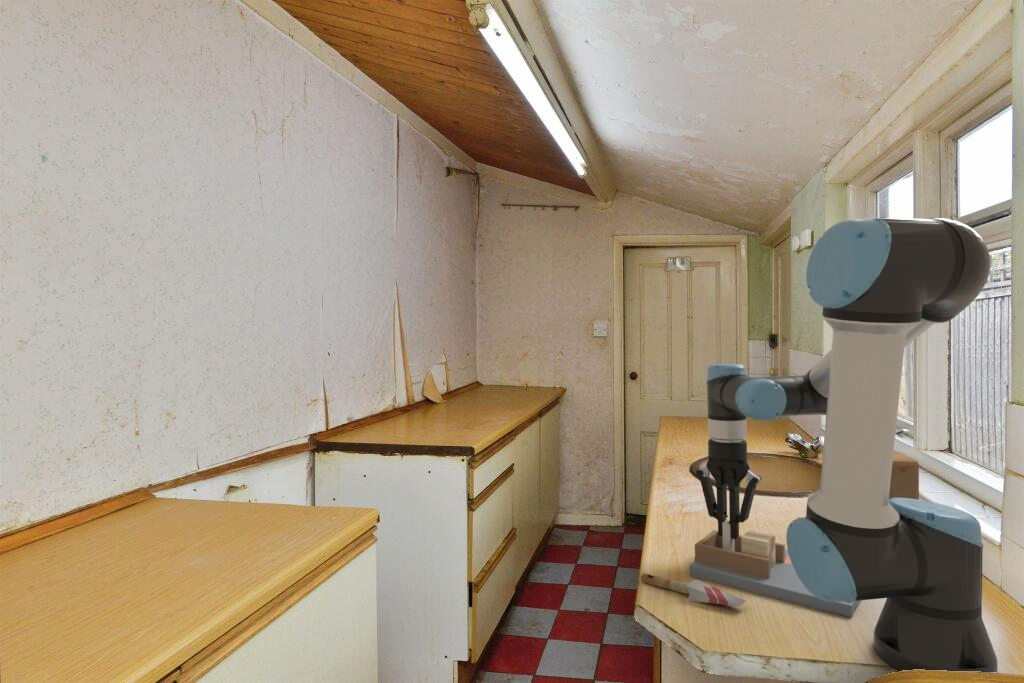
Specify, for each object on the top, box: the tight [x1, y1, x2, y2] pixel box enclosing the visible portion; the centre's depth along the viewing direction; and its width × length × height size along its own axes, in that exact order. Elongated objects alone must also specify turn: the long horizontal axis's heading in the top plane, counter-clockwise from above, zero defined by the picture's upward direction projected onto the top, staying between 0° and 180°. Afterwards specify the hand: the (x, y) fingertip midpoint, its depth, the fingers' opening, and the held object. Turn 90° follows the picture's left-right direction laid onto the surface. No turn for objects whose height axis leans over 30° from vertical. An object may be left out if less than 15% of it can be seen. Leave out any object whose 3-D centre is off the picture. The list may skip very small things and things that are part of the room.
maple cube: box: [741, 529, 776, 570], centre depth 121 cm, size 5×5×6 cm
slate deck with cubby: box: [689, 529, 862, 618], centre depth 120 cm, size 20×29×6 cm
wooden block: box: [889, 451, 920, 500], centre depth 137 cm, size 10×10×20 cm
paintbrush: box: [640, 572, 747, 607], centre depth 113 cm, size 4×3×20 cm
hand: (728, 552), depth 125 cm, fingers closed
